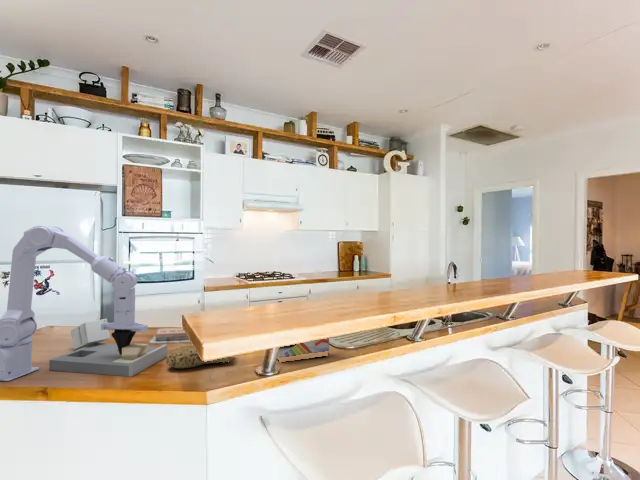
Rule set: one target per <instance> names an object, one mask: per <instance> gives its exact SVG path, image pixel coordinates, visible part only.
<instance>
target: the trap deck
mask: <svg viewBox="0 0 640 480" xmlns="http://www.w3.org/2000/svg"><path fill="white" fill-rule="evenodd" d="M167 355H168V344H162V345H160V346H152V345H151V346H150V345H149V346H148V345H147V354H145V355H143V356H141V357H139V358H137V359H135V360H122V355H120V354H119V350H118V346H117V344H116V343H104V342H101V343H94V344H91V345H89V346H86V347H83V348H79V349H75V350H74V351H71V352H68V353H65V354H62V355H59V356H57V357H54V358H51V359H49V361H48V362H49V365H48V366H49V369H48V370H49V371H58V372H70V373H79V374H80V373H81V374H82V373H84V374H94V375H95V374H97V375H109V376H121V377H134V376H135V375H137V374H138V373H141V372H143V371H144V370H147V368H150V367H151V366H153V365H154V364H156V363H158V362H159V361H161V360H163V359H165V358H166V356H167Z"/></svg>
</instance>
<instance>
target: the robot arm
mask: <svg viewBox="0 0 640 480" xmlns="http://www.w3.org/2000/svg"><path fill="white" fill-rule="evenodd" d="M51 249H61V250H63V249H64V250H67V251H68V252H70V253H72V254H73V255H74V256H77V257H78V258H80V259H82V260H83V261H84V262H86V263H87V264H89V265H90V267H91V271H92V272H93V273H95V274H97V275H98V276H99V277H100V278H102V279H104V280H105V281H106V282H108V283H111V286H112V288H113V289H114V301H113V303H114V305H113V306H114V308H113V322H108V323H102V324H101V330H109V331H110V330H111V331H113V332H112V333H111V337H112V338H113V340H114V342H115V344H117V346H118V350H119V354H120V355H122V348H124V347H126V346H128V345H130V344H132V343H131V342H132V340H133V338H134V336H135V335H136V333H138V332H139V333H146V332H148V326H149V325H148V324H143V323H142V324H141V323H139V322H136V320H135V319H136V314H135V313H136V287H135V286H136V285H137V283H138V277H137V275H136V274H135V273H134V271H131V270H127V269H128V268H126V266H121V265H119V263H118V262H115V261H114V260H115V258H114V257H112V256H110V257H108V256H106V255H103V256H100V255H98V254H97V253H96V252H94V251H93V250H92V249H90V248H89V247H88V246H87V245H85V244H83V242H82V241H80V240H78V239H77V238H76V237H75V236H73V235H72V234H71V233H69V232H67V231H65V230H63V229H62V228H61V227H58V226H45V225H35V226H33V227H31V228H29V229H27V230H25V231H24V232H23V236H22V237H21V238H20V239H19V241H18V242H17V243H16V245H14V247H13V249H12V255H11V265H10V276H9V286H8V295H7V297H8V298H7V304H6V305H7V306H6V311H5V312H4V313H3V315H2V316H1V317H0V381H2V382H3V381H4V382H10V381H12V380H15V379H17V378H20V377H22V376H26V375H28V374H30V373H33V372H35V371H38V370H40V367H38V366H33V365H32V364H33V363H32V362H33V335H34V334H35V333H36V331H37V330H38V324H37V322H36V319H35V312H34V310H33V309H32V303H33V302H32V301H33V291H34V283H35V272H36V271H35V270H36V262H37V261H36V260H37V257H38V256H39V255H41V254H42V253H44V252H46V251H47V250H51Z"/></svg>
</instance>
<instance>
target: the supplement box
mask: <svg viewBox="0 0 640 480" xmlns="http://www.w3.org/2000/svg"><path fill="white" fill-rule="evenodd" d="M102 323H109V322H108V318H102V319H96V320H91V321H87V322H83V323H82V324H80V325H77V326H76V327H74V328H72V329H70V333H71V334H70V335H71V341H72V349H73V350H74V351H75V350H78V349H81V348H83V347H86V346H89V345H91V344H94V343H104V342H105V341H108V340H110V339H111V333H110V330H101V324H102Z"/></svg>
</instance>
